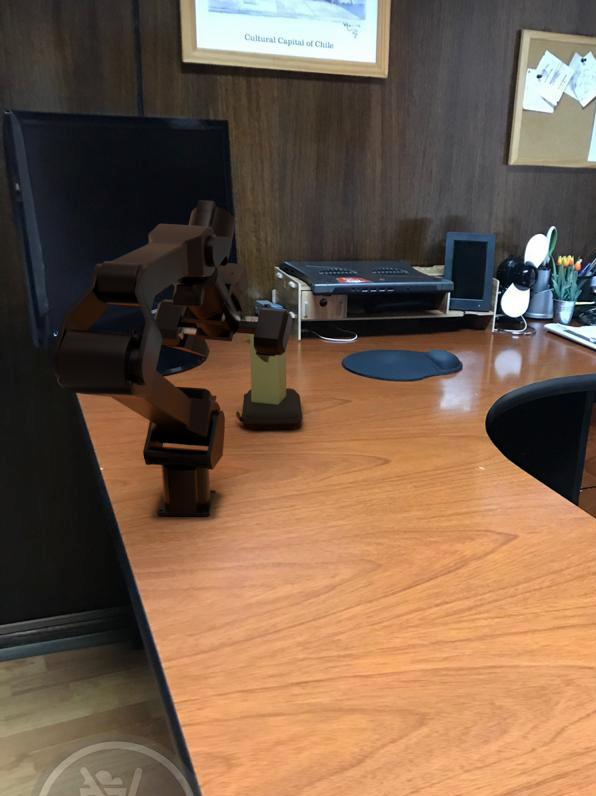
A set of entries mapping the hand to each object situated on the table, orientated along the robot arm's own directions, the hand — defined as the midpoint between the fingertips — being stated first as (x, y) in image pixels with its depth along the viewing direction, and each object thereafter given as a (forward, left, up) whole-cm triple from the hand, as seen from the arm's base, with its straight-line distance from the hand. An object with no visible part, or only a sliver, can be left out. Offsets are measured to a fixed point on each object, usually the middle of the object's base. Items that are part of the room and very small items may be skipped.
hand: (237, 356), depth 114 cm
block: (+12, -4, -10) cm, 16 cm away
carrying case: (+12, -4, -14) cm, 18 cm away
